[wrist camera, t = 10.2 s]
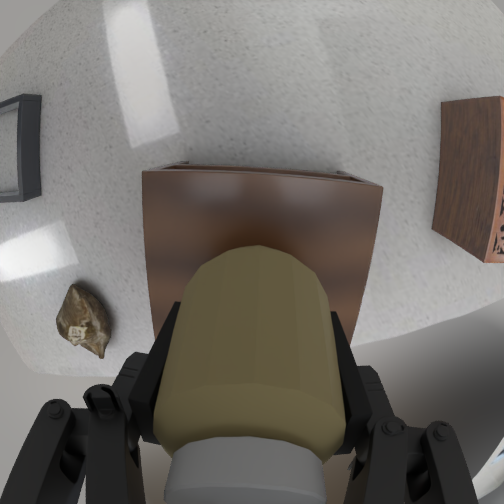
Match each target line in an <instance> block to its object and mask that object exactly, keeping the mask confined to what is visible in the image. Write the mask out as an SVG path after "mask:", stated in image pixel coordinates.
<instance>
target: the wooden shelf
mask: <svg viewBox="0 0 504 504" xmlns="http://www.w3.org/2000/svg"><path fill="white" fill-rule="evenodd" d="M382 194H383V187H382V186H380V185H377V184H375V183H372V182H370V181H367V180H365V179H362V178H360V177H357V176H354V175H352V174H349V173H346V172H342V171H337V174H334V173H325V172H315V171H305V170H294V169H282V168H268V167H252V166H232V165H200V164H188V161H180V162H176V163H172V164H168V165H164V166H160V167H156V168H152V169H149V170H145V171H142V206H143V228H144V245H145V258H146V270H147V280H148V290H149V298H150V307H151V315H152V322H153V329H154V336H155V340H156V338H157V336H158V334H159V332H160V330H161V328H162V326H163V324H164V322H165V320H166V318H167V316H168V314H169V312H170V310H171V308H172V306H173V304H174V302H175V301H177V302H181V300H182V297H183V293H184V290H185V287H186V285H187V284H188V283H189V281H190V280H191V279H192V277H193V276H194V274H195V273H196V272H197V270H198V269H199V268H200V266H201V265H203V264H205V263H206V262H208V261H210V260H212V259H214V258H215V257H217V256H219V255H221V254H223V253H224V252H226V251H229V250H232V249H236V248H239V247H246V246H254V245H261V246H265V247H269V248H273V249H277V250H280V251H282V252H285V253H287V254H290V255H292V256H293V257H295V258H296V259H297V260H299V261H300V262H301V263H303V264H304V265H305V266H307V267H308V268H309V269H311V270H312V271H313V272H315V274H316V276H317V278H318V279H319V281H320V283H321V285H322V287H323V289H324V291H325V293H326V295H327V297H328V302H329V308H330V311H336V312H337V314H338V317H339V320H340V322H341V325H342V327H343V330H344V333H345V335H346V338H347V341H348V343H349V346H350V344H351V340H352V337H353V333H354V330H355V326H356V322H357V319H358V315H359V311H360V307H361V303H362V299H363V295H364V291H365V287H366V282H367V278H368V273H369V269H370V264H371V259H372V254H373V249H374V244H375V238H376V233H377V227H378V221H379V215H380V208H381V201H382Z"/></svg>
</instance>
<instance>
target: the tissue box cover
mask: <svg viewBox="0 0 504 504" xmlns="http://www.w3.org/2000/svg"><path fill="white" fill-rule="evenodd" d="M432 229H433V230H434V231H436V232H438V233H439V234H441V235H442V236H444V237H446V238H447V239H449V240H450V241H452V242H453V243H455V244H457V245H458V246H460V247H461V248H463V249H464V250H466V251H467V252H469V253H470V254H472V255H473V256H475V257H476V258H478V259H479V260H480V261H482V262H483V263H504V98H503V97H501V96H492V97H481V98H471V99H463V100H455V101H447V102H441V150H440V166H439V178H438V188H437V196H436V204H435V212H434V218H433V225H432Z"/></svg>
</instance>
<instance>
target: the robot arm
mask: <svg viewBox="0 0 504 504" xmlns="http://www.w3.org/2000/svg"><path fill="white" fill-rule="evenodd" d="M180 304H181V302H177V301H175V302H174V304H173V306H172V308H171V310H170V312H169V314H168V316H167V318H166V320H165V322H164V324H163V326H162V328H161V330H160V332H159V334H158V336H157V338H156V340H155V342H154V344H153V346H152V348H151V350H150V352H149V354H145V353H139V352H134V353H133V354H132V355H131V356H129V357H128V358H127V359H126V361H125V363H124V364H123V366H122V368H121V370H120V372H119V375H117V377H116V379H115V381H114V383H113V385H112V386H110V385H105V384H98V385H94V386H92V387H90V388H89V389H87V390H86V391H85V393H84V396H83V399H84V401H85V403H86V405H87V407H88V408H86V409H84V408H71V407H70V405H69V404H68V403H67V402H66V401H64V400H62V399H53V400H50V401H48V402H46V403H45V404H44V406H43V407H42V408H41V410H40V412H39V414H38V416H37V418H36V420H35V422H34V424H33V426H32V428H31V430H30V432H29V434H28V436H27V438H26V440H25V442H24V444H23V446H22V448H21V450H20V453H19V455H18V457H17V459H16V462H15V464H14V466H13V468H12V471H11V473H10V475H9V478H8V481H7V483H6V485H5V488H4V491H3V493H2V496H1V499H0V504H77V503H78V499H79V496H80V492H81V488H82V485H83V482H84V478H85V475H86V504H146V501H145V494H144V486H143V477H142V468H141V457H140V448H139V445H138V441H139V438H140V435H141V436H142V439H143V441H144V442H149V443H153V444H158V445H161V444H160V443H159V441H158V440H157V438H156V437H155V435H154V434H153V418H154V410H155V405H156V401H157V396H158V392H159V387H160V383H161V379H162V374H163V370H164V366H165V362H166V359H167V356H168V351H169V347H170V343H171V338H172V334H173V330H174V326H175V322H176V319H177V315H178V311H179V308H180ZM330 313H331V319H332V325H333V331H334V338H335V344H336V352H337V360H338V367H339V372H340V379H341V386H342V394H343V403H344V411H345V421H346V428H345V434H344V440H343V444H342V446H341V447H340V448H339V449H338V450H337V451H336V452H335V453H334V454H333V455H340V454H349V453H351V451H352V449H353V448H354V446H355V451H356V456H355V458H354V459H353V461H352V462H351V464H350V465H349V467H348V470H350V469H351V468H352V469H351V474H350V479H349V483H348V487H347V491H346V496H345V500H344V504H404V502H405V504H478V500H477V496H476V493H475V489H474V486H473V483H472V480H471V476H470V473H469V470H468V467H467V464H466V461H465V458H464V455H463V452H462V450H461V447H460V444H459V442H458V439H457V436H456V433H455V431H454V429H453V428H452V426H451V425H449V424H448V423H446V422H443V421H435V422H432V423H431V424H430V425H429V426H428V427H427V428H416V427H409V426H407V425H406V424H405V422H404V421H403V420H401V419H400V418H398V417H395V415H394V413H393V410H392V408H391V406H390V403H389V400H388V398H387V395H386V393H385V391H384V388H383V385H382V383H381V381H380V378H379V376H378V373H377V372H376V371H375V370H374V369H373V368H372V367H371V366H357V365H356V362H355V360H354V357H353V354H352V351H351V349H350V346H349V343H348V341H347V338H346V335H345V333H344V330H343V327H342V325H341V322H340V320H339V317H338V314H337V312H336V311H330Z"/></svg>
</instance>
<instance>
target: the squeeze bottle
mask: <svg viewBox="0 0 504 504" xmlns="http://www.w3.org/2000/svg"><path fill="white" fill-rule="evenodd" d="M345 428H346V421H345V411H344V403H343V394H342V386H341V379H340V372H339V367H338V360H337V352H336V344H335V338H334V331H333V325H332V319H331V313H330V308H329V302H328V297H327V295H326V293H325V291H324V289H323V287H322V285H321V283H320V281H319V279H318V278H317V276H316V274H315V272H313V271H312V270H311V269H309V268H308V267H307V266H305V265H304V264H303V263H301V262H300V261H299V260H297V259H296V258H295V257H293V256H292V255H290V254H287V253H285V252H282V251H280V250H277V249H273V248H269V247H265V246H261V245H254V246H246V247H239V248H236V249H232V250H229V251H226V252H224V253H223V254H221V255H219V256H217V257H215V258H214V259H212V260H210V261H208V262H206V263H205V264H203V265H201V266H200V268H199V269H198V270H197V272H196V273H195V274H194V276H193V277H192V279H191V280H190V281H189V283H188V284H187V285H186V287H185V290H184V293H183V297H182V300H181V304H180V308H179V311H178V315H177V319H176V322H175V326H174V330H173V334H172V338H171V343H170V347H169V351H168V356H167V359H166V362H165V366H164V370H163V374H162V379H161V383H160V387H159V392H158V396H157V401H156V405H155V410H154V418H153V434H154V435H155V437H156V438H157V440H158V441H159V443H160V444H161V445H162V447H163V448H164V450H165V451H166V452H167V453H168V454H169V456H170V457H171V458H172V462H171V466H170V470H169V474H168V478H167V482H166V486H165V490H164V501H165V502H166V503H167V504H326V501H327V498H326V490H325V482H324V474H323V467H322V465H323V464H324V463H325V462H327V461H328V459H330V458H331V457H332V455H333V454H334V453H335V452H336V451H337V450H338V449H339V448H340V447H341V446H342V444H343V440H344V434H345Z"/></svg>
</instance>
